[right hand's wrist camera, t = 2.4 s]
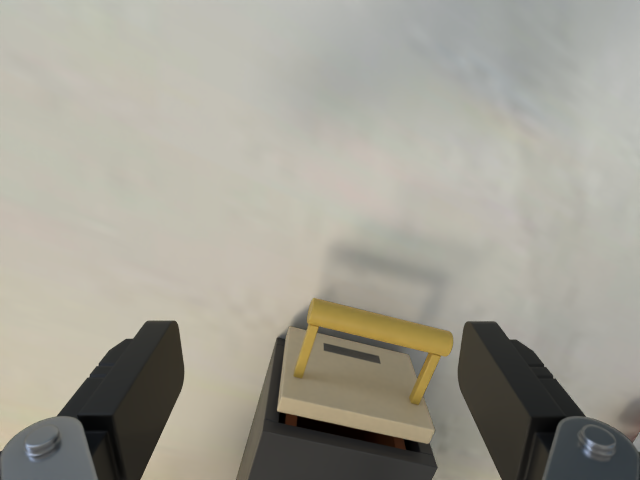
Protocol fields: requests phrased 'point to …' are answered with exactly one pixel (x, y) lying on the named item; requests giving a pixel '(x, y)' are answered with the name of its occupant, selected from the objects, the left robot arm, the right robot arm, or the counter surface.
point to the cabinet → (321, 447)
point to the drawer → (359, 376)
